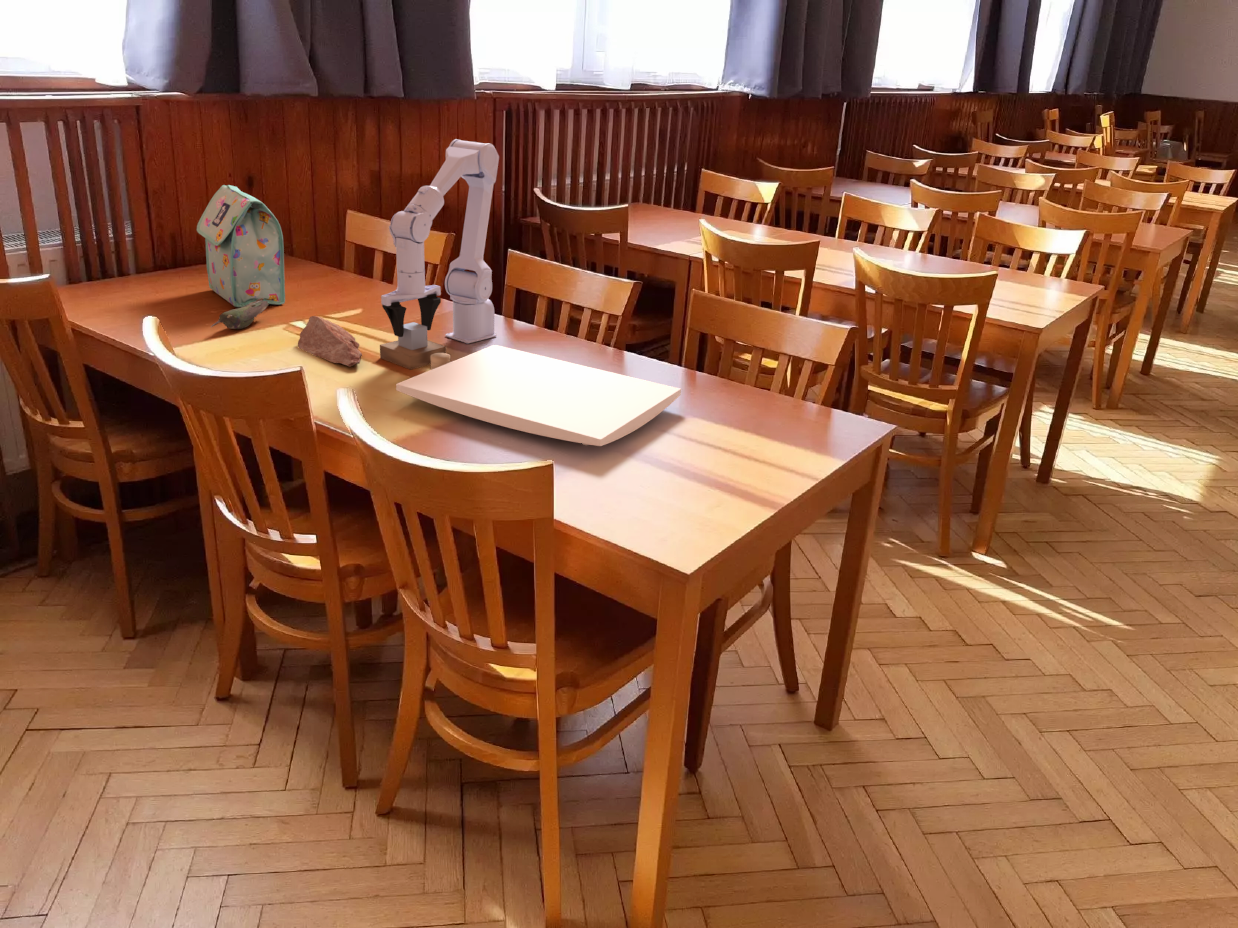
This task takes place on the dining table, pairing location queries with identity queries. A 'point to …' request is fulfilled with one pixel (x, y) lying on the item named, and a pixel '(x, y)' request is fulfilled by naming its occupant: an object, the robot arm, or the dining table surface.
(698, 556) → the dining table surface
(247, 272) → the lunch bag
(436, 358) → the beech cylinder
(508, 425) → the board
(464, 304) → the robot arm
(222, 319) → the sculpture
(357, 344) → the rock
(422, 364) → the walnut base
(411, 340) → the grey cube
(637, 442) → the dining table surface
